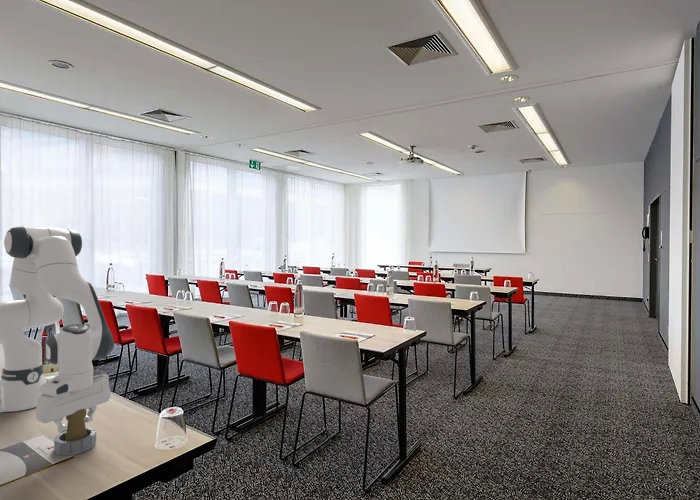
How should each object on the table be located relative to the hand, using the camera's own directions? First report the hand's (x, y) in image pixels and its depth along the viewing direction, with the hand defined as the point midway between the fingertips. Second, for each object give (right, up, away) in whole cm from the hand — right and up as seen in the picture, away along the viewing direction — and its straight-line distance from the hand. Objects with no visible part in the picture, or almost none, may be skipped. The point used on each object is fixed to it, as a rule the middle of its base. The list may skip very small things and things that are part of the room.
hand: (75, 426), depth 128 cm
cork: (0, -6, 0) cm, 6 cm away
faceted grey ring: (0, -6, 0) cm, 6 cm away
